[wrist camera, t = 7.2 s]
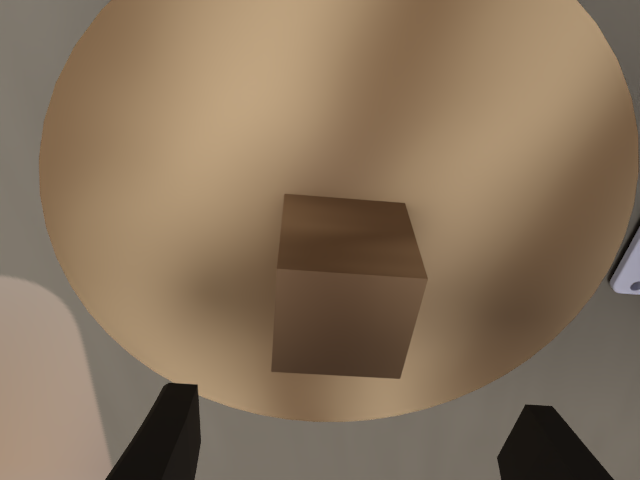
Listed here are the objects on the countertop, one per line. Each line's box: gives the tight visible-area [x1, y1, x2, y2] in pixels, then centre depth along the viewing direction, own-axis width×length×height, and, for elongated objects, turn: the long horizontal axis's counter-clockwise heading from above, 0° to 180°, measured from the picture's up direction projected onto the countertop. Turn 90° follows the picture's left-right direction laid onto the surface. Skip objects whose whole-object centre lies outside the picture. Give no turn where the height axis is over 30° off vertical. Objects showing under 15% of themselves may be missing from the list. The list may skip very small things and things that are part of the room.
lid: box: [39, 0, 639, 422], centre depth 12 cm, size 15×15×4 cm
